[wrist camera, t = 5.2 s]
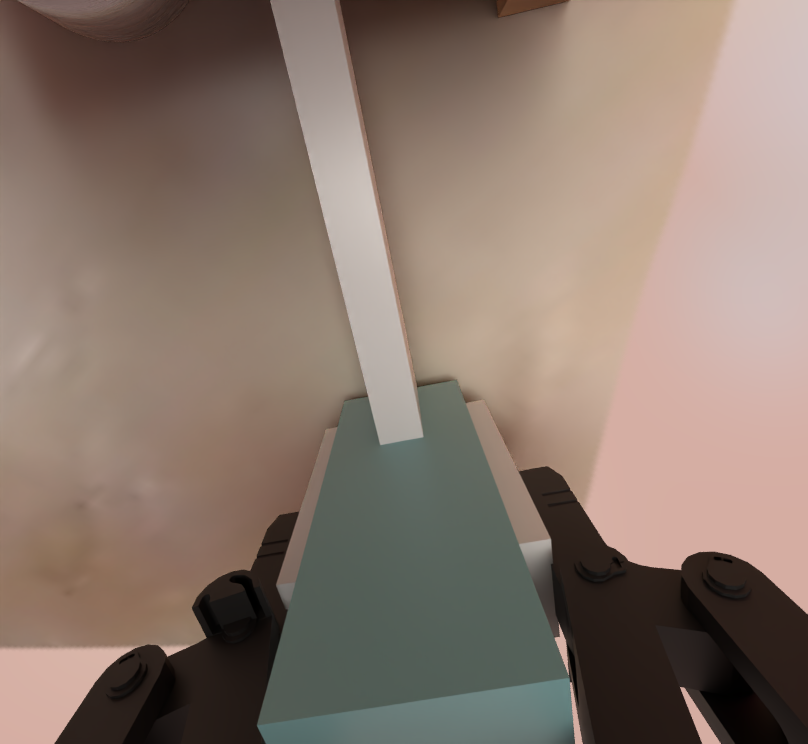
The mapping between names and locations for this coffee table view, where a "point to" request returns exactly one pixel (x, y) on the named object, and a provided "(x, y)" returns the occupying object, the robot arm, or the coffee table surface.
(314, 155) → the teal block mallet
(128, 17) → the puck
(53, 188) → the coffee table surface
